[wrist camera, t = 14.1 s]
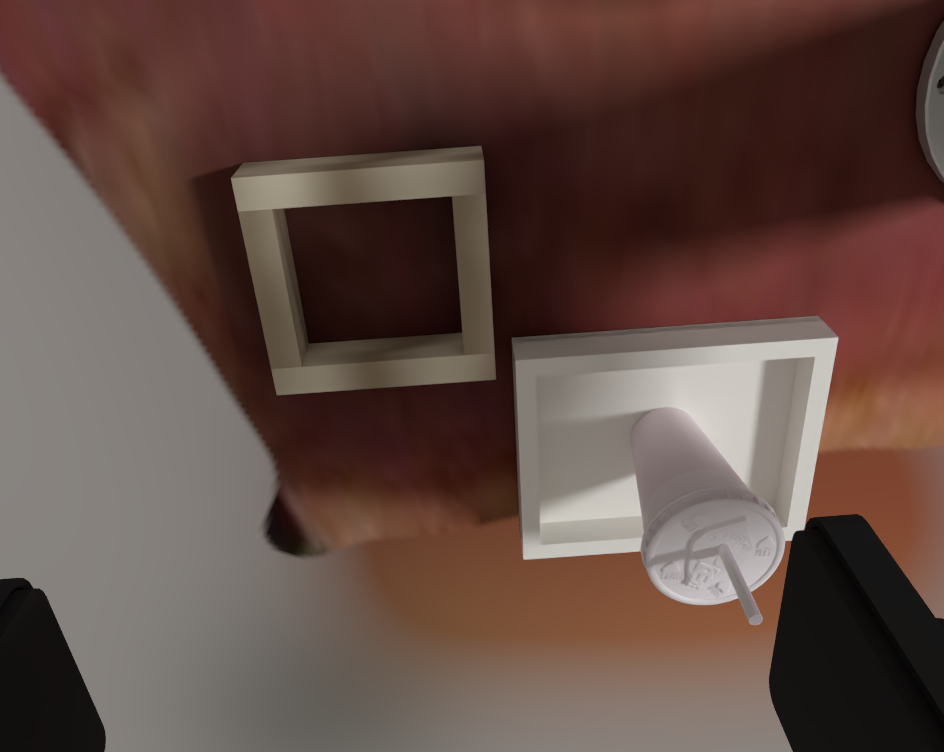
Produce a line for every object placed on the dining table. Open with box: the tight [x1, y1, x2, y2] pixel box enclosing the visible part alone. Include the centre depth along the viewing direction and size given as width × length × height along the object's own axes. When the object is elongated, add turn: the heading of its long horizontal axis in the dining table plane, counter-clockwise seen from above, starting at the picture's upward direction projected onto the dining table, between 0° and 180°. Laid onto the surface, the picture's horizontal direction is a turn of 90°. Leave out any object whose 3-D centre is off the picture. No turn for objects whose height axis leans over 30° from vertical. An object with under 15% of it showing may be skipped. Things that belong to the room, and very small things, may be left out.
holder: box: [231, 146, 496, 395], centre depth 39 cm, size 11×11×2 cm
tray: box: [511, 316, 838, 560], centre depth 44 cm, size 16×13×2 cm
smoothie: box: [630, 407, 785, 625], centre depth 39 cm, size 6×6×14 cm
